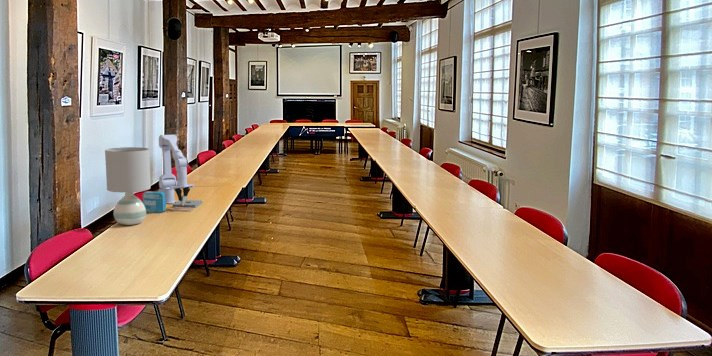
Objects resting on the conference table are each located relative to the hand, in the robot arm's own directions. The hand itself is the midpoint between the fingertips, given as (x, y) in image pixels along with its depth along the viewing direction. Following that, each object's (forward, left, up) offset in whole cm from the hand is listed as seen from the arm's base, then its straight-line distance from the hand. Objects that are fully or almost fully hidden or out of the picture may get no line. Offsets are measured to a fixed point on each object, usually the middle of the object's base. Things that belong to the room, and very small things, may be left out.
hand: (182, 200), depth 328 cm
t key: (0, 0, -3) cm, 3 cm away
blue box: (-14, -8, -6) cm, 17 cm away
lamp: (-16, -36, -6) cm, 40 cm away
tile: (0, 0, -6) cm, 6 cm away
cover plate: (-1, +12, -6) cm, 13 cm away
